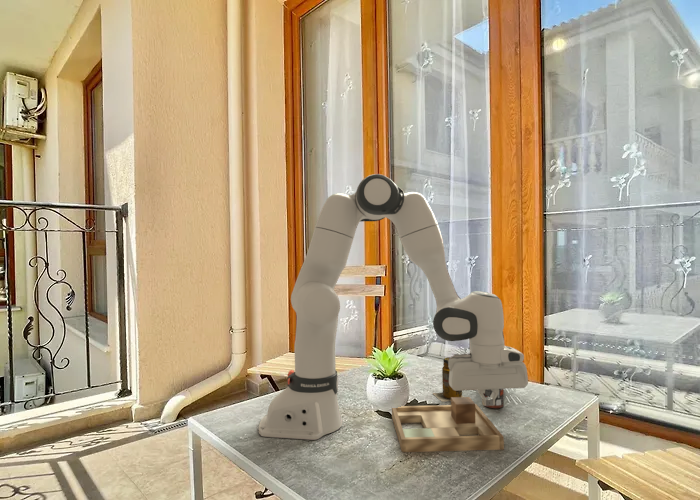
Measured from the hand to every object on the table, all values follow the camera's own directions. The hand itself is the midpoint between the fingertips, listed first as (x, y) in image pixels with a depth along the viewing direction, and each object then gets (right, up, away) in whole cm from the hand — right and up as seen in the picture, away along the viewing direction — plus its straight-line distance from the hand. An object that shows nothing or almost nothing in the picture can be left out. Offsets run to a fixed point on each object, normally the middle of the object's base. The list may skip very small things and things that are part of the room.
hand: (488, 404), depth 111 cm
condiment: (-5, -6, +22) cm, 23 cm away
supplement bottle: (+6, -6, +14) cm, 16 cm away
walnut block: (-7, -4, 0) cm, 8 cm away
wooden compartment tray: (-13, -6, -3) cm, 14 cm away
